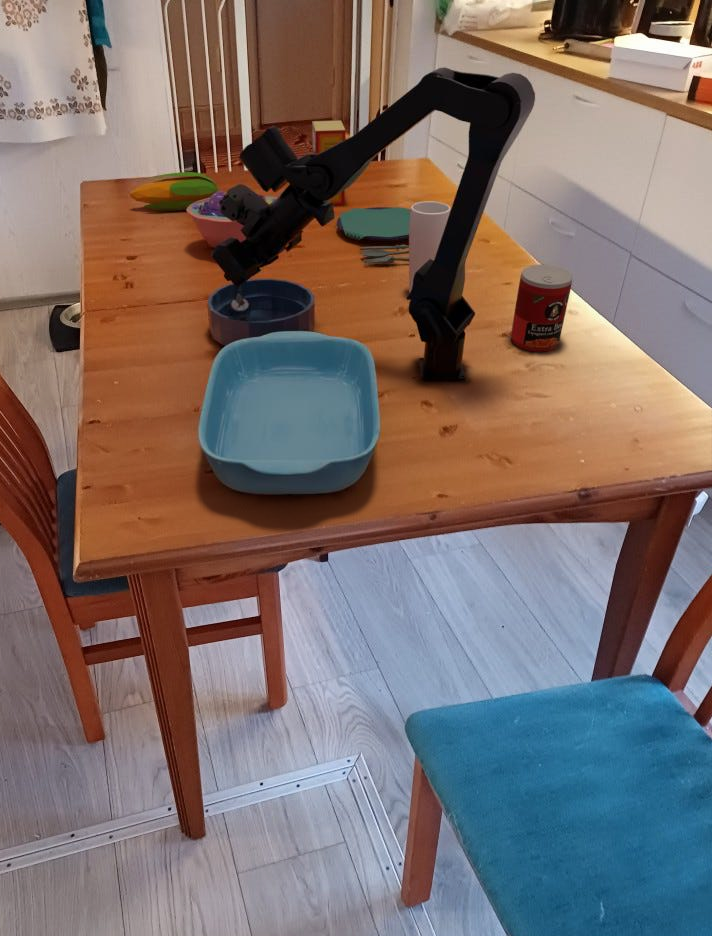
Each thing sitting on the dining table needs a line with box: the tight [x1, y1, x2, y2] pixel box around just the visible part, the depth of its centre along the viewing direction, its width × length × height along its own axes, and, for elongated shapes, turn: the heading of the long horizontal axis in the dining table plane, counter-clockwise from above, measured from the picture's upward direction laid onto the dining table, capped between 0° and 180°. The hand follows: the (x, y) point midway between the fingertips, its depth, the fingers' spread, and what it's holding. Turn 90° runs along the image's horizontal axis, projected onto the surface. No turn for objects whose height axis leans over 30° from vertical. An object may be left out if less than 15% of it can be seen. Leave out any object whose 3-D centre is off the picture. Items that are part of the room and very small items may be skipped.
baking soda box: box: [311, 119, 346, 207], centre depth 177 cm, size 10×6×16 cm
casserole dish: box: [197, 331, 381, 495], centre depth 102 cm, size 37×22×7 cm, turn 179°
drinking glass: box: [408, 200, 452, 294], centre depth 135 cm, size 7×7×15 cm
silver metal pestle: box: [228, 284, 251, 320], centre depth 126 cm, size 4×4×11 cm
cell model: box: [186, 190, 278, 249], centre depth 155 cm, size 17×20×11 cm
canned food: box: [510, 264, 574, 353], centre depth 121 cm, size 8×8×11 cm
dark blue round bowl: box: [206, 278, 316, 347], centre depth 127 cm, size 17×17×6 cm
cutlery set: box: [336, 206, 411, 265], centre depth 160 cm, size 20×30×2 cm, turn 3°
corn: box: [129, 171, 219, 212], centre depth 176 cm, size 7×8×20 cm
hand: (229, 276), depth 125 cm, fingers closed on silver metal pestle, 2 cm apart
